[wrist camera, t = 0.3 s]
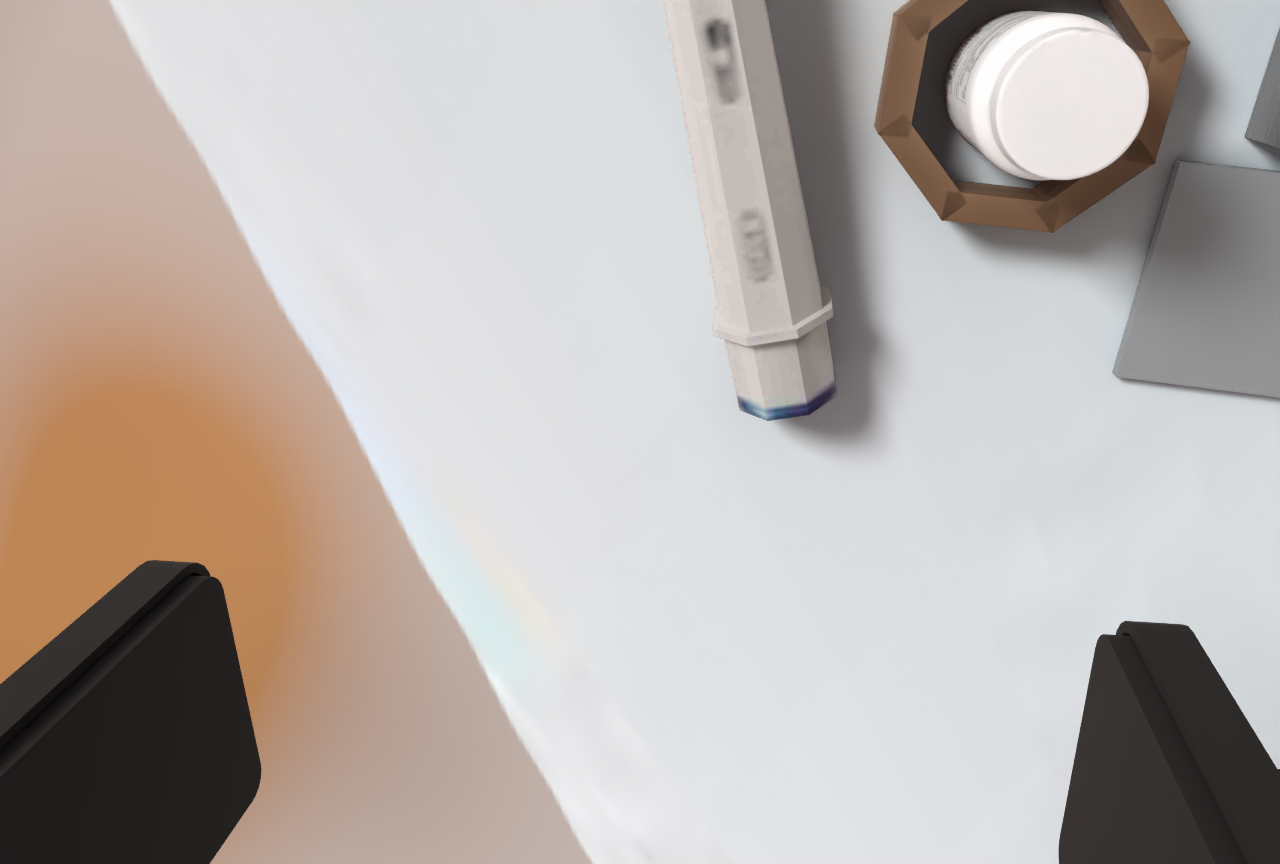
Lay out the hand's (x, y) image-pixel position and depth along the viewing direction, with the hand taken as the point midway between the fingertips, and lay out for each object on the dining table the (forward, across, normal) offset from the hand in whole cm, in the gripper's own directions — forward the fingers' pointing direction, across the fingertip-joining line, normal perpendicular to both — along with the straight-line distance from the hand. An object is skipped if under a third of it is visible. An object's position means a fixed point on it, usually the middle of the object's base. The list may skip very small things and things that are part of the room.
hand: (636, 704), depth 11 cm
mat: (+30, -18, +3) cm, 35 cm away
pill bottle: (+30, -9, -4) cm, 32 cm away
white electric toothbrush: (+31, +1, -5) cm, 31 cm away
